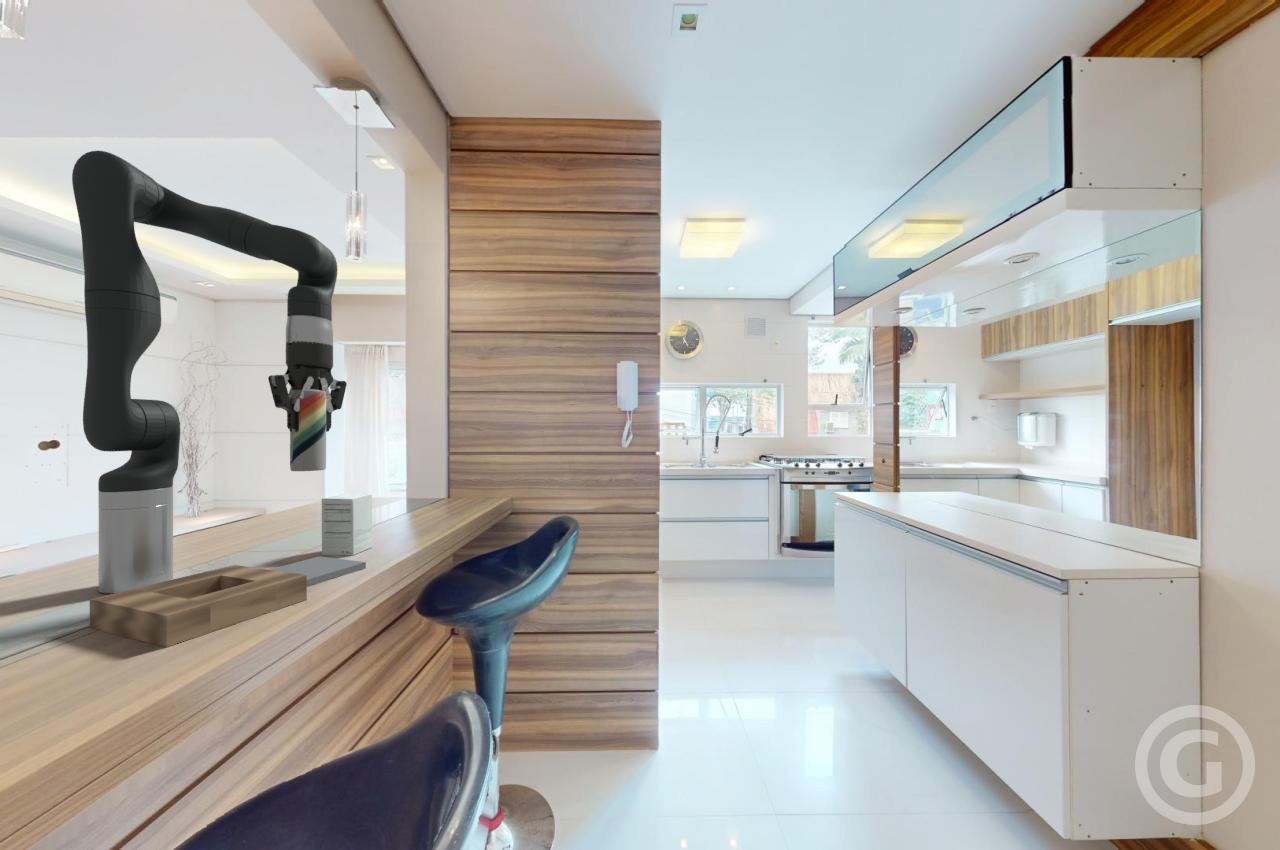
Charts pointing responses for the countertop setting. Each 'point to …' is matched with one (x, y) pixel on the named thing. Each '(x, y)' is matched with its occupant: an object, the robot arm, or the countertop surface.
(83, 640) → the countertop surface
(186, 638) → the block
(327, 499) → the supplement box
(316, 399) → the lotion bottle
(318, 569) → the rubber mat
